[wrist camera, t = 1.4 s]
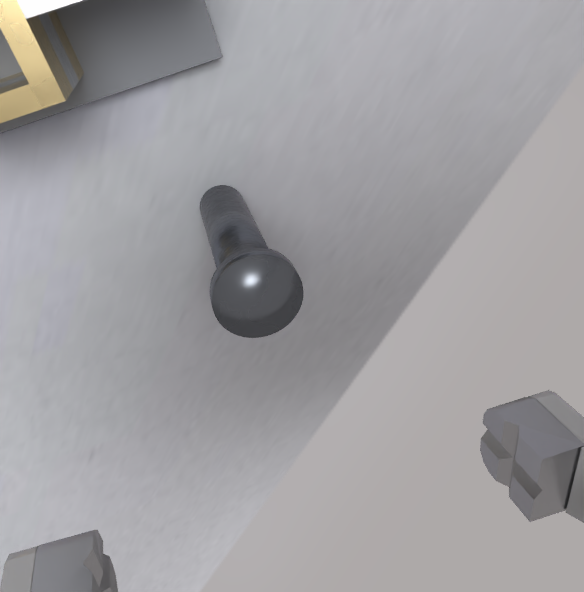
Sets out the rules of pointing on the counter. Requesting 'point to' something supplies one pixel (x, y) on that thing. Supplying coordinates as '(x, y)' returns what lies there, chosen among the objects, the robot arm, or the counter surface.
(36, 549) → the robot arm
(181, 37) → the mounting board
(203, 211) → the hinge pin
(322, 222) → the counter surface
